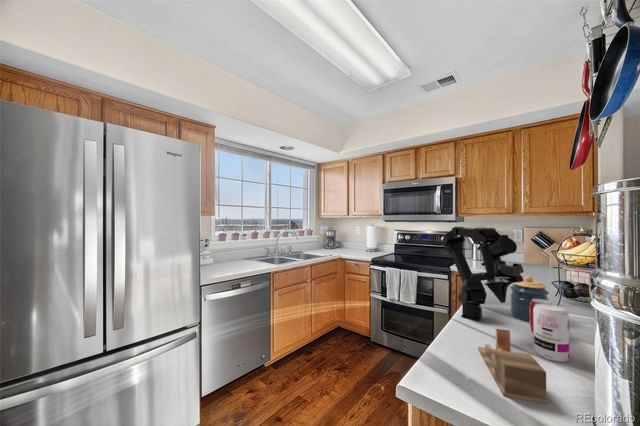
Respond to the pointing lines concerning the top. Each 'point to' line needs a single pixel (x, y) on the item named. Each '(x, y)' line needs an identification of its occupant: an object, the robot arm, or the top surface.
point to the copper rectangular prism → (502, 340)
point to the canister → (526, 296)
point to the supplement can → (551, 332)
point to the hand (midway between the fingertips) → (503, 302)
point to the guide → (516, 374)
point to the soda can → (532, 305)
